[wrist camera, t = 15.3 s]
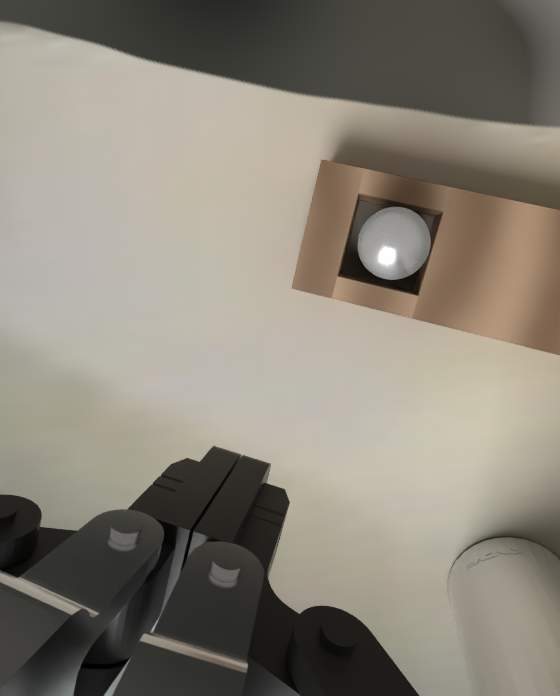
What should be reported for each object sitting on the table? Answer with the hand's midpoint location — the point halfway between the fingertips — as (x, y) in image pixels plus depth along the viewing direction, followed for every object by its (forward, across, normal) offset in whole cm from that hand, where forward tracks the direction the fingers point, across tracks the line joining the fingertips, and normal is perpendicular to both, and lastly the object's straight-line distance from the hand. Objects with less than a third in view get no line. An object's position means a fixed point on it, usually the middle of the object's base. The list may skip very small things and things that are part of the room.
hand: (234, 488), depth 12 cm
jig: (+26, -10, -8) cm, 28 cm away
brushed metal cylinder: (+25, -3, -8) cm, 27 cm away
